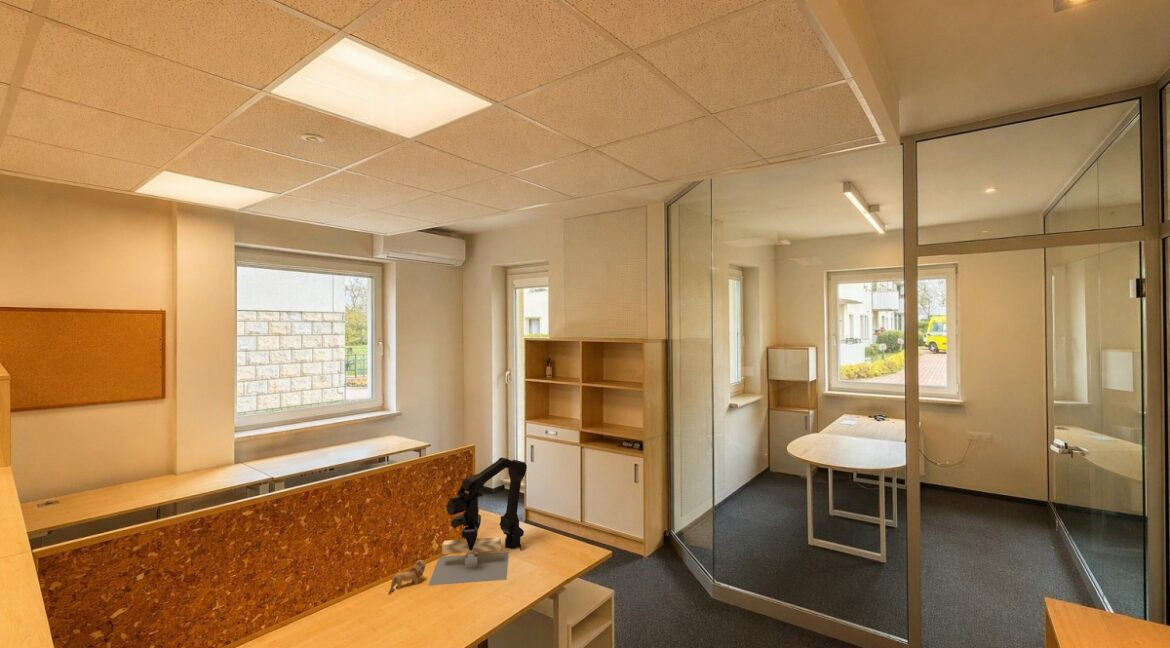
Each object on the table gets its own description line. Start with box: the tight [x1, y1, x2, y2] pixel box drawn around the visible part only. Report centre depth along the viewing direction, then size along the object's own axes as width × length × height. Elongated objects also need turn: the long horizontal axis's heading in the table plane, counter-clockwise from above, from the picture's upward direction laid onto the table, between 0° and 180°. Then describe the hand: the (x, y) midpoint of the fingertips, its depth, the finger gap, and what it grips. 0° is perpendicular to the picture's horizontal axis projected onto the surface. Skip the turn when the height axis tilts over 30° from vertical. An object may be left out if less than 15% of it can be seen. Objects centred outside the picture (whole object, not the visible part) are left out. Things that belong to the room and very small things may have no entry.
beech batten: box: [441, 536, 502, 555], centre depth 211 cm, size 24×4×4 cm, turn 97°
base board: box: [428, 551, 509, 586], centre depth 207 cm, size 30×25×1 cm
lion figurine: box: [388, 559, 426, 595], centre depth 193 cm, size 15×5×9 cm, turn 133°
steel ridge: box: [465, 552, 480, 568], centre depth 211 cm, size 5×8×5 cm, turn 7°
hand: (472, 545), depth 211 cm, fingers open, 9 cm apart
